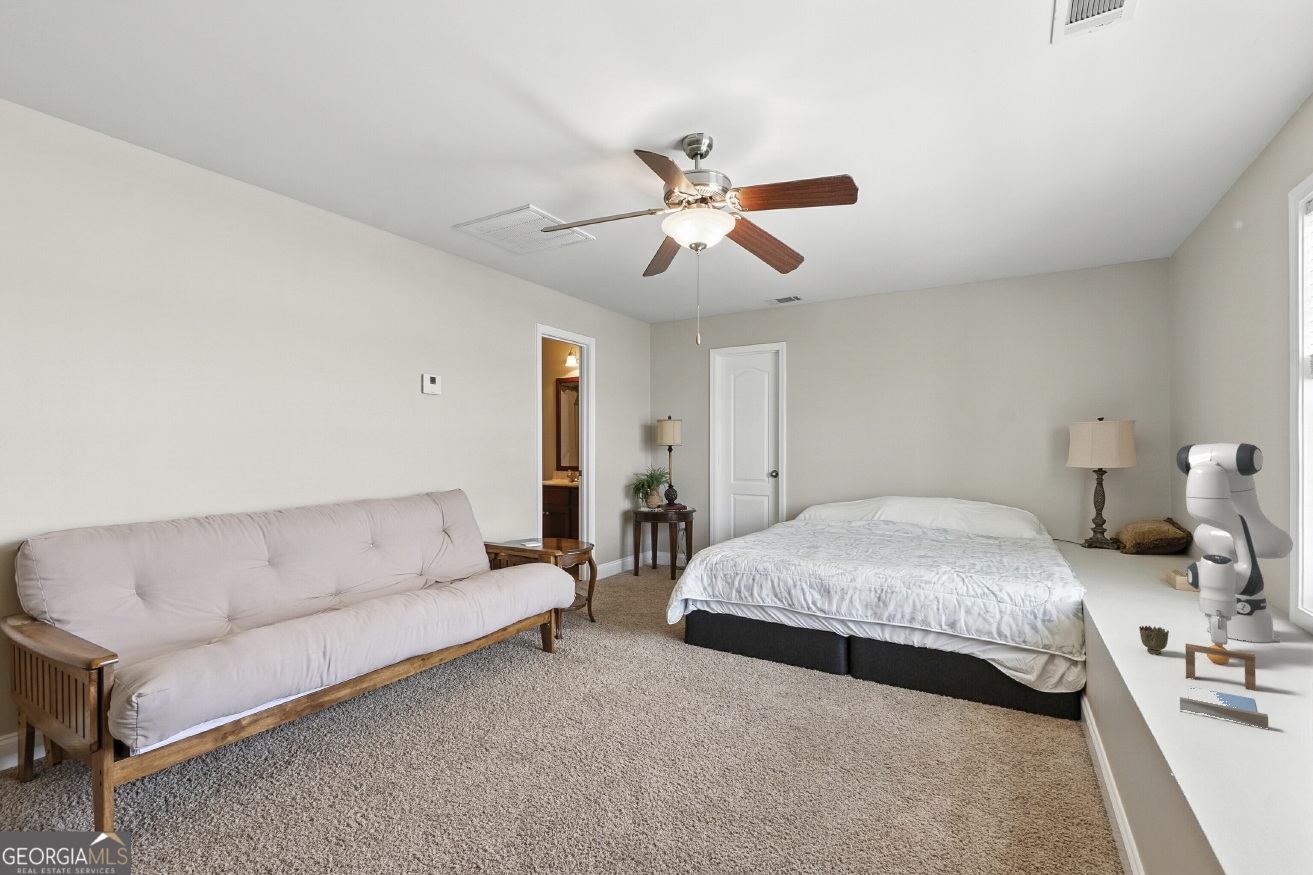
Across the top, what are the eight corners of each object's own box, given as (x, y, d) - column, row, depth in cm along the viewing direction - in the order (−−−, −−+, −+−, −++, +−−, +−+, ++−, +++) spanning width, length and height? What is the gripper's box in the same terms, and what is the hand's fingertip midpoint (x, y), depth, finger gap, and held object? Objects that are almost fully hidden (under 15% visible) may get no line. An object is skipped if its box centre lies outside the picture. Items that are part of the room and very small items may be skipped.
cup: (1174, 657, 196) (1174, 632, 196) (1148, 656, 197) (1147, 631, 197) (1160, 650, 203) (1160, 625, 203) (1134, 648, 204) (1134, 624, 205)
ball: (1206, 658, 195) (1205, 641, 195) (1230, 662, 191) (1229, 644, 191) (1206, 663, 190) (1206, 645, 190) (1230, 667, 187) (1230, 649, 187)
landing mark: (1189, 686, 173) (1189, 686, 173) (1253, 699, 164) (1253, 698, 164) (1188, 701, 163) (1188, 701, 163) (1257, 715, 154) (1257, 715, 154)
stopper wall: (1180, 708, 159) (1180, 696, 159) (1267, 726, 149) (1267, 714, 149) (1180, 711, 158) (1179, 699, 158) (1268, 729, 147) (1268, 716, 147)
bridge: (1186, 674, 182) (1185, 643, 182) (1255, 687, 172) (1254, 654, 172) (1186, 677, 179) (1185, 646, 179) (1255, 690, 170) (1255, 657, 170)
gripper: (1233, 616, 186) (1233, 662, 186) (1229, 602, 202) (1230, 645, 202) (1205, 612, 191) (1205, 657, 190) (1203, 599, 206) (1204, 641, 206)
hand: (1218, 651), depth 196 cm, fingers closed
